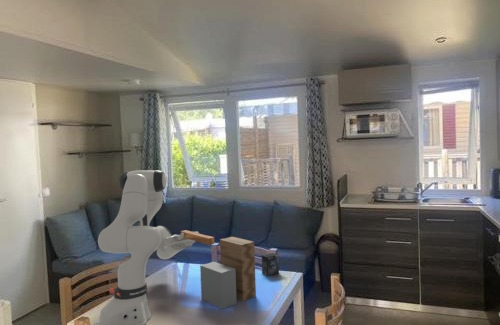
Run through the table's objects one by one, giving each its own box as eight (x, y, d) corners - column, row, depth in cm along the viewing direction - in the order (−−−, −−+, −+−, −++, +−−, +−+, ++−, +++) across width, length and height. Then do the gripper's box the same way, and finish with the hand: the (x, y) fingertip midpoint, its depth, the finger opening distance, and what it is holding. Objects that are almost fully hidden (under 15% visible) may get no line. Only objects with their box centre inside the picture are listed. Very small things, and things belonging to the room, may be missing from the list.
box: (267, 276, 212) (267, 257, 211) (261, 273, 216) (261, 254, 216) (279, 273, 216) (278, 254, 216) (273, 270, 221) (272, 252, 220)
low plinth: (222, 308, 171) (221, 272, 170) (201, 299, 183) (200, 265, 182) (236, 303, 176) (235, 268, 175) (215, 294, 188) (213, 261, 187)
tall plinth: (243, 301, 179) (241, 245, 178) (221, 292, 191) (219, 239, 190) (255, 296, 184) (254, 241, 183) (234, 287, 196) (232, 236, 195)
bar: (209, 244, 180) (208, 238, 180) (180, 236, 198) (180, 231, 198) (214, 243, 182) (214, 237, 182) (185, 235, 200) (185, 230, 200)
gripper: (156, 241, 199) (167, 231, 190) (189, 234, 213) (202, 224, 204) (159, 253, 197) (171, 243, 188) (193, 245, 211) (206, 236, 201)
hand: (187, 233), depth 196 cm, fingers closed on bar, 3 cm apart
